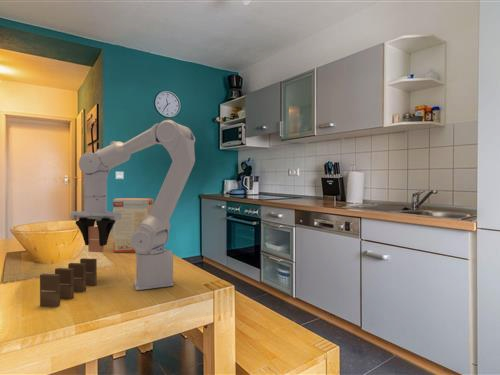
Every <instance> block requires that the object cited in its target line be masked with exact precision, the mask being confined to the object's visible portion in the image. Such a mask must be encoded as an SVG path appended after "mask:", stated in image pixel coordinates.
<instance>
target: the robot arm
mask: <svg viewBox="0 0 500 375" xmlns="http://www.w3.org/2000/svg"><path fill="white" fill-rule="evenodd" d="M195 143H196V138H195V135H194V134H193V131H192V130H191V128H189V127H188V126H186V125H183V124H180V123H177V122H175V121H174V120H172V119H165V120H162V121H161V122H160V123H159V122H157V123H155V124H153V125H152V126H151V127H150V128H149V129H146V130H145V131H144V132H142V133H140V134H138V135H136V136H134V137H133V138H131V139H129V140H127V141H125V142H123V141H114V140H112V141H110V142H109V145H108V146H105V147H103V148H98V149H96V151H95V152H90V151H86V152H84V153H83V154H82V155H81V156H80V157H79V159H78V167H79V170H80V171H81V172H82V173H83V210H82V211H81V210H77V211H70V215H69V216H70V219H71V220H76V219H78V220H76V221H75V225H76V227H78V229H79V231H80V233H81V235H82V239H83V241H84V242H83V243H84V245H85V246H88V245H89V241H88V227H90V226H93V227H95V223H96V227H98V231H99V244H100V246H104V247H105V246H106V245H107V244H108V240H109V236H110V234H111V232H112V229H113V225H114V223H115V220H120V219H121V212H113V211H108V178H109V173H110V171H111V169H113V168H114V167H117V166H119V165H121V164H123V163H126V162H128V161H130V159H131V156H132V154H134V153H137V152H140V151H142V150H145V149H147V148H150V147H152V146H154V145H161V146H163V148H164V149H166V151H167V152H168V154H169V157H170V159H171V161H172V162H171V164H170V167H169V169H168V171H167V173H166V176H165V178H164V180H163V182H162V185H161V187H160V189H159V192H158V194H157V196H156V199H155V201H154V202H153V207H152V210H151V212H150V214H149V216H148V217H147V218H146V219H145V220H144V221H143V222H142V223H141V225H140V227H139V228H138V229H137V230H136V231H135V232H134V233H133V234H132V236H131V245H132V247H133V249H134V250H135V251H136V253H135V256H136V259H135V261H136V263H135V264H136V266H135V267H136V271H135V272H136V274H135V276H136V278H135V279H133V283H134V284H133V285H134V289H135V291H142V290H143V291H144V290H149V289H157V288H165V287H172V286H174V255H173V251H172V250H171V249H168V250H166V249H165V246H166V244H167V243H168V240H169V237H170V236H169V235H170V233H169V231H170V229H171V226H172V225H171V224H170V219H171V217H172V215H173V213H174V210H175V208H176V206H177V203H178V202H179V199H180V197H181V195H182V192H183V190H184V188H185V186H186V184H187V181H188V179H189V176H190V175H191V172H192V170H193V167H194V166H195V162H196V154H195Z"/></svg>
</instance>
